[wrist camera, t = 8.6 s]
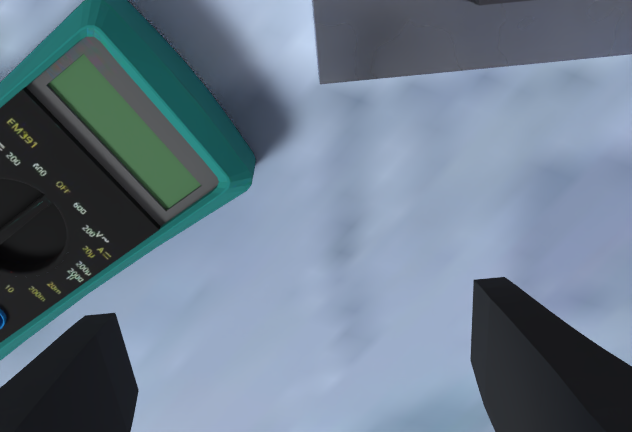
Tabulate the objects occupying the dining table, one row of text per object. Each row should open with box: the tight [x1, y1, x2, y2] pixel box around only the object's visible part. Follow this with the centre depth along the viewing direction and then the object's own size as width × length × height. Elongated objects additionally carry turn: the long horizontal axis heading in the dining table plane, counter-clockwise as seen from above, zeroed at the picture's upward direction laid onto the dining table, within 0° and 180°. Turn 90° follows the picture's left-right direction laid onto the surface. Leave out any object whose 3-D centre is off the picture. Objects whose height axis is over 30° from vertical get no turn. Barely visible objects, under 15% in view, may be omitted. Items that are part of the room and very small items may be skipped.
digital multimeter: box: [0, 0, 256, 360], centre depth 20 cm, size 7×15×3 cm, turn 126°
